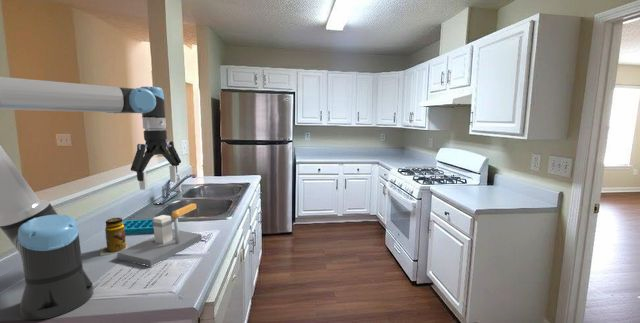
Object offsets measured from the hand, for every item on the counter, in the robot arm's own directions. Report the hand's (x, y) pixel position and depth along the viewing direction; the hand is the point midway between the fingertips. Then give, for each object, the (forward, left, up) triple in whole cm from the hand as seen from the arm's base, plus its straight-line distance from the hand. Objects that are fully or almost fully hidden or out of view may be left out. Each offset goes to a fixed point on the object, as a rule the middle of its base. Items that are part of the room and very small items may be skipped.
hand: (159, 185), depth 113 cm
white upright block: (0, 0, -25) cm, 25 cm away
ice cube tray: (+10, +24, -25) cm, 36 cm away
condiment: (-9, +16, -25) cm, 31 cm away
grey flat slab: (-2, -1, -25) cm, 25 cm away
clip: (+5, -6, -22) cm, 23 cm away
